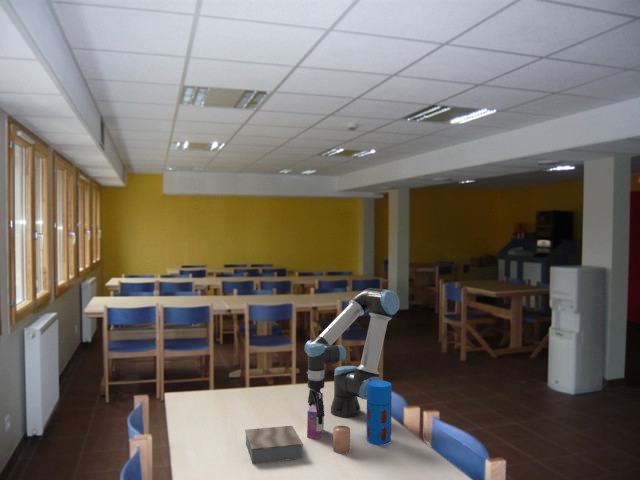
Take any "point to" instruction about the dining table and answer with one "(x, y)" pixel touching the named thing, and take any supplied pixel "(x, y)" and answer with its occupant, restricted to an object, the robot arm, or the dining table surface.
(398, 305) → the robot arm
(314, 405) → the box
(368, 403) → the thermos
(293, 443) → the podium
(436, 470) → the dining table surface
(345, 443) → the tan rounded cylinder
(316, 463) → the dining table surface
